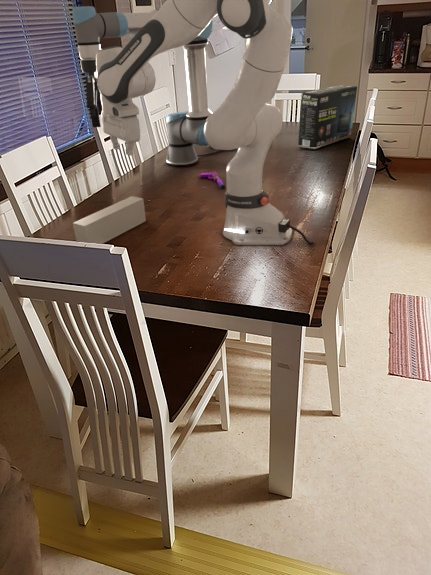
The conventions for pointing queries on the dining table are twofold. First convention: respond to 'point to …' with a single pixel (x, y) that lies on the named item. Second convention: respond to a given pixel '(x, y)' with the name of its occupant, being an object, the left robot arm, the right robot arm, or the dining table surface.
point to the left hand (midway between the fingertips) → (101, 123)
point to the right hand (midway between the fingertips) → (123, 152)
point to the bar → (110, 221)
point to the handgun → (213, 176)
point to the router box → (326, 115)
